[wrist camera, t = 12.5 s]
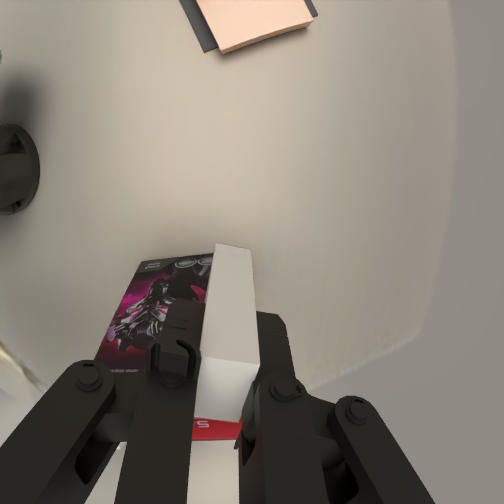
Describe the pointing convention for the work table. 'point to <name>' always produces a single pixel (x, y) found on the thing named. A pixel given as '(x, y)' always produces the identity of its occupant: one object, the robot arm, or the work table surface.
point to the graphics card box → (159, 323)
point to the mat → (203, 29)
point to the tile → (252, 20)
